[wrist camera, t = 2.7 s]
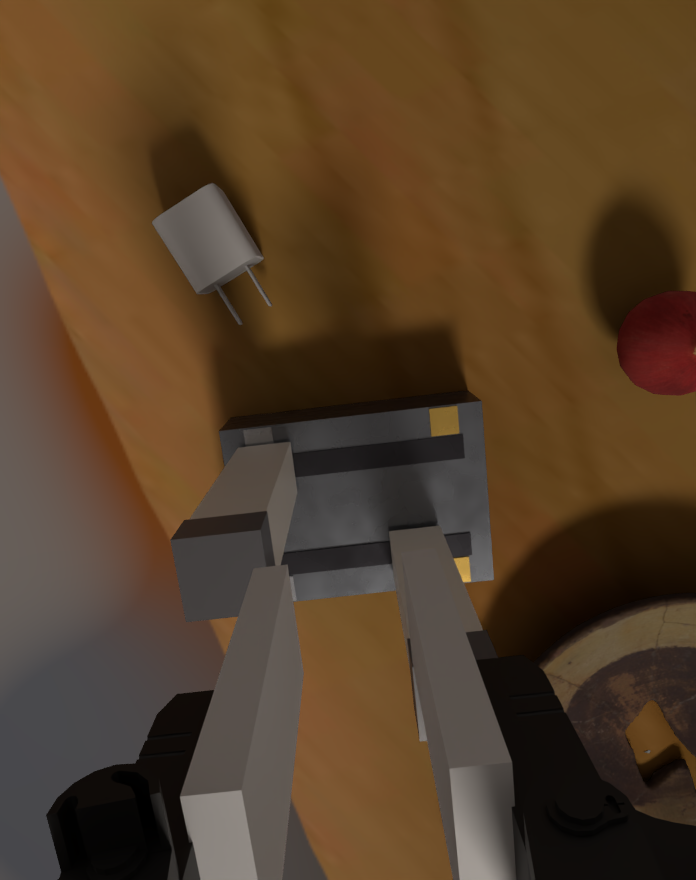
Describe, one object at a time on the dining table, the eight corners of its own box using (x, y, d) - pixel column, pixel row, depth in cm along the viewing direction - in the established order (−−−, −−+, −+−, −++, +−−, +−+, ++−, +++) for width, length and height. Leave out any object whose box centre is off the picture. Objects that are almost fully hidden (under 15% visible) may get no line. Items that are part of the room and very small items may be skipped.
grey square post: (235, 446, 36) (170, 539, 22) (291, 439, 36) (260, 530, 22) (244, 499, 37) (186, 622, 23) (299, 493, 37) (273, 612, 23)
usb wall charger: (225, 192, 37) (211, 181, 33) (288, 296, 39) (282, 297, 35) (169, 229, 38) (148, 222, 34) (233, 331, 39) (220, 335, 35)
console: (230, 417, 40) (218, 431, 36) (468, 390, 40) (482, 401, 36) (256, 577, 43) (247, 607, 39) (479, 553, 42) (494, 580, 38)
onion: (697, 293, 39) (787, 293, 31) (682, 387, 40) (764, 410, 32) (602, 288, 39) (668, 288, 31) (590, 383, 40) (650, 405, 32)
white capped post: (386, 529, 37) (412, 667, 24) (441, 523, 37) (498, 657, 24) (392, 579, 38) (419, 741, 24) (445, 574, 38) (503, 732, 24)
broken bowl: (863, 742, 46) (964, 830, 39) (503, 924, 50) (531, 1037, 42) (733, 495, 42) (818, 539, 34) (348, 713, 45) (349, 797, 38)
